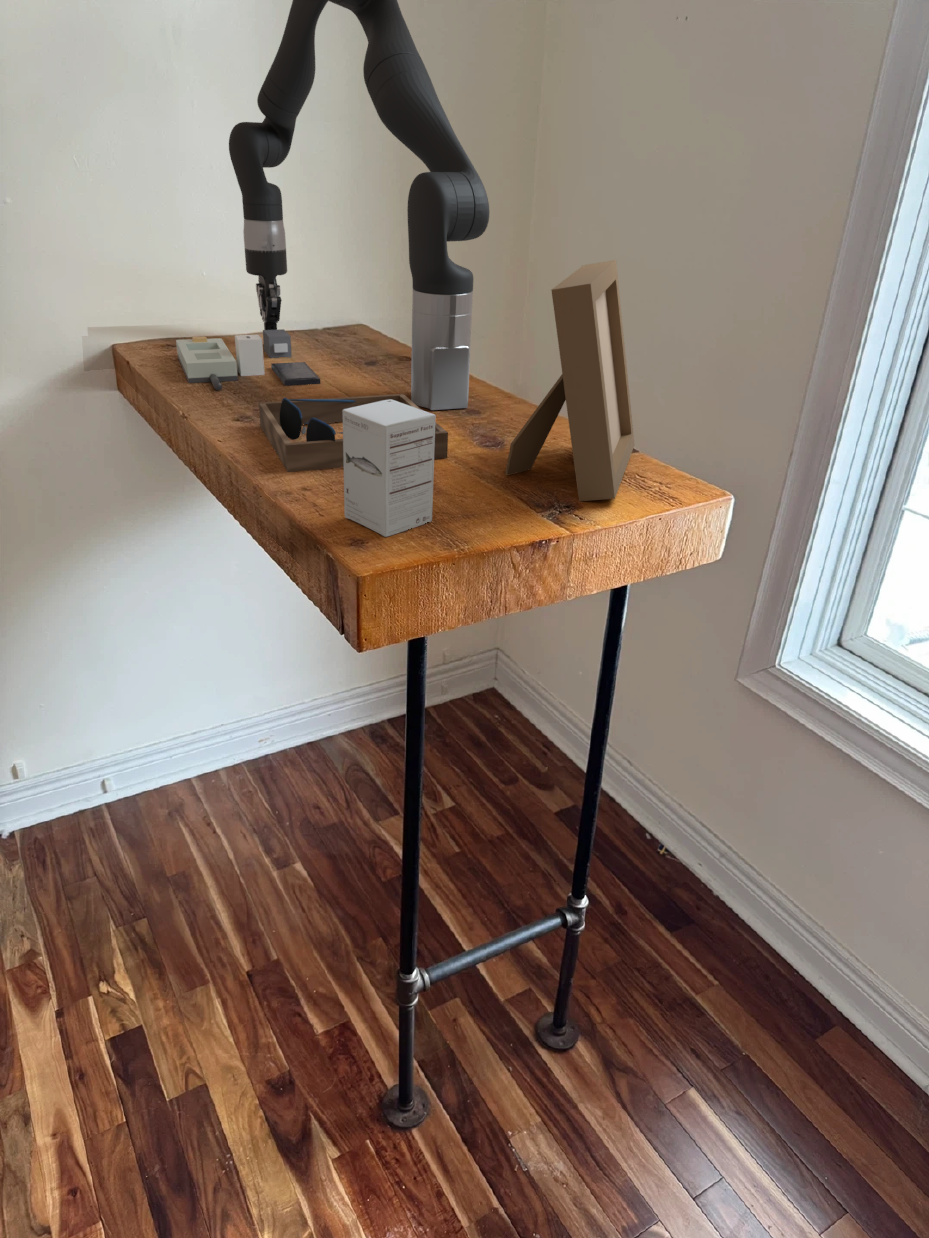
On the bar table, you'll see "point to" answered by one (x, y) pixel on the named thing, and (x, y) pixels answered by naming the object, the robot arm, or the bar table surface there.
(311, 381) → the phone
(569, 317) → the photo frame
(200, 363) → the strip
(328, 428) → the sunglasses
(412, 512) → the supplement box
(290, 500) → the bar table surface
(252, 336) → the charger
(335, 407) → the valet tray
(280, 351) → the plug
